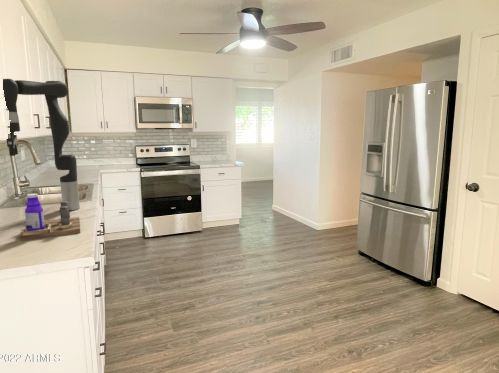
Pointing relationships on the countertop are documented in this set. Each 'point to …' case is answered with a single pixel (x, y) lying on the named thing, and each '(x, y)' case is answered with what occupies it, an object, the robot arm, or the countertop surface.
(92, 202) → the countertop surface
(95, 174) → the countertop surface
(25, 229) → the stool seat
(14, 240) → the countertop surface
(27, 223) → the bottle
